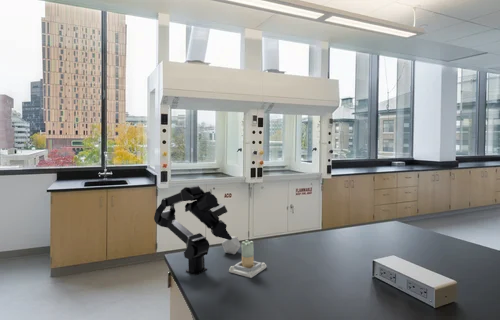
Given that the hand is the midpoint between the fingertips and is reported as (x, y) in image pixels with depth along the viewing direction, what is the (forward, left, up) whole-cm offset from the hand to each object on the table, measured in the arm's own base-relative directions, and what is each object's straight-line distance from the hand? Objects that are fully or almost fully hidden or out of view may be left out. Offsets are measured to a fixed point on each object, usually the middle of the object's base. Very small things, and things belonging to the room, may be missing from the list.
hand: (228, 236), depth 137 cm
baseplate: (+2, -9, -14) cm, 16 cm away
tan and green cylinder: (+2, -9, -12) cm, 15 cm away
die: (+15, +9, -14) cm, 22 cm away
